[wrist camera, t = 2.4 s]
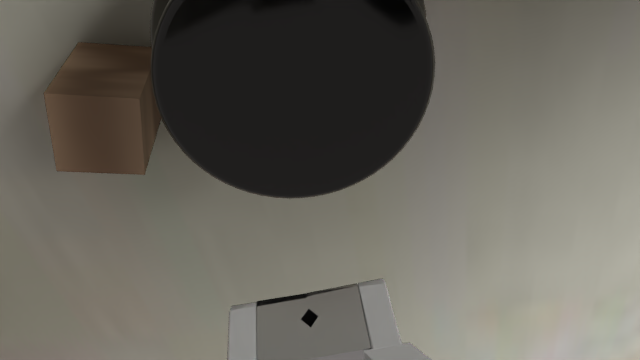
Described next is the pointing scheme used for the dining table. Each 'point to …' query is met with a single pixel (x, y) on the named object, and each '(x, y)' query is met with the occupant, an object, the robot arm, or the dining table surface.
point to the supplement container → (291, 88)
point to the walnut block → (103, 110)
